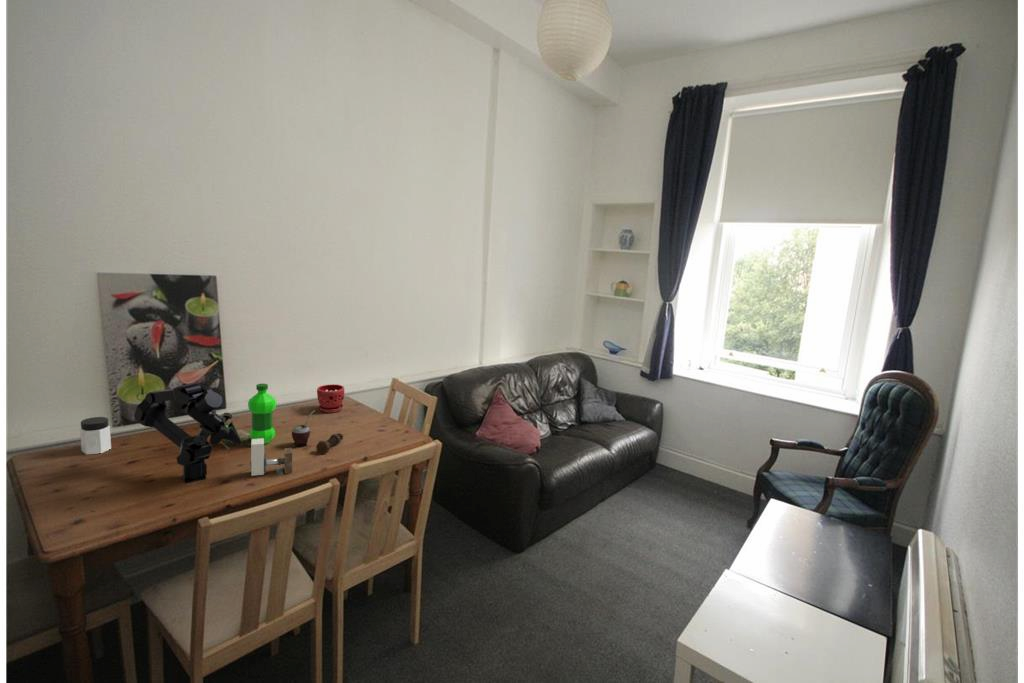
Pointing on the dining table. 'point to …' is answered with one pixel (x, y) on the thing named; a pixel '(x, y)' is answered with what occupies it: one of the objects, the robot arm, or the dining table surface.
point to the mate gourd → (301, 434)
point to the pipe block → (286, 462)
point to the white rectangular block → (258, 457)
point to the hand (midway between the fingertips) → (240, 442)
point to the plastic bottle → (262, 414)
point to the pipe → (274, 461)
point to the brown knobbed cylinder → (329, 443)
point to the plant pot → (330, 397)
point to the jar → (95, 435)
